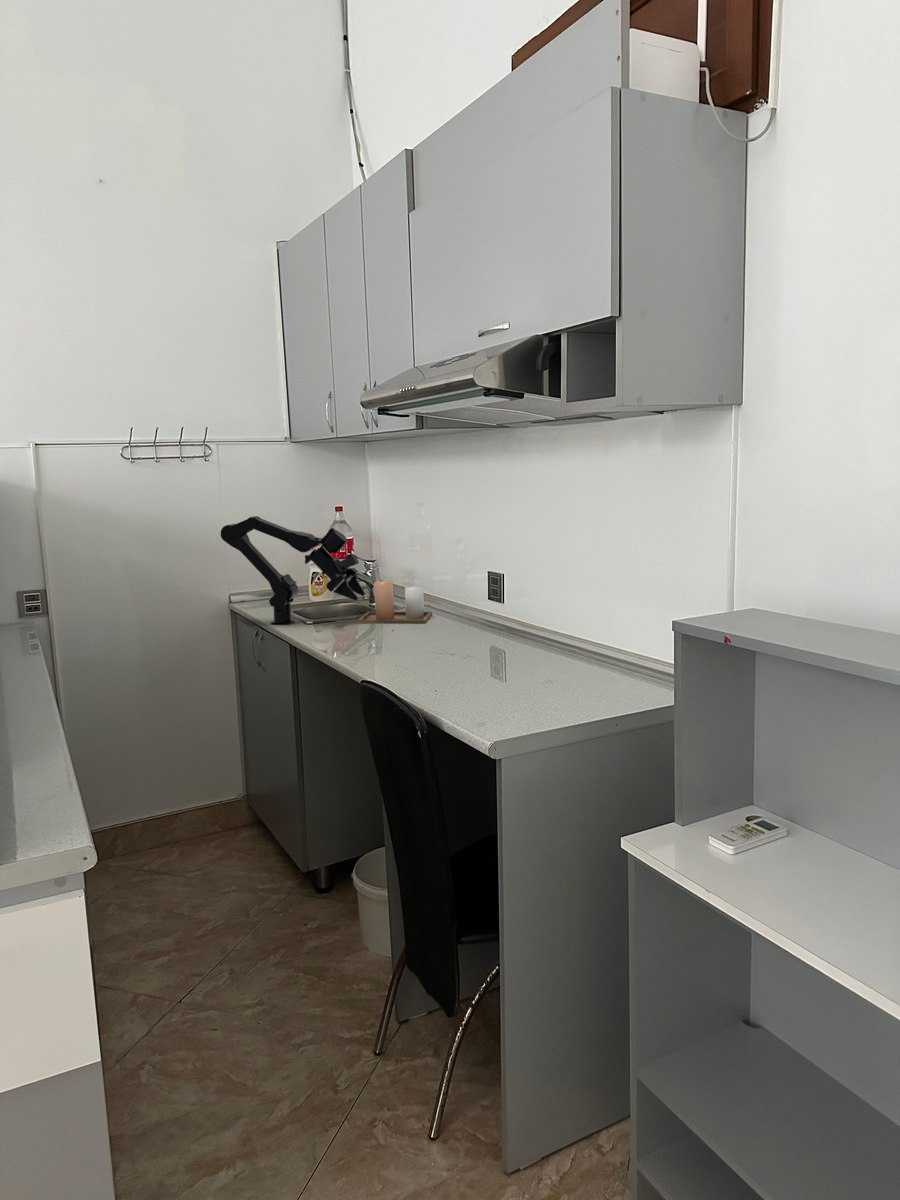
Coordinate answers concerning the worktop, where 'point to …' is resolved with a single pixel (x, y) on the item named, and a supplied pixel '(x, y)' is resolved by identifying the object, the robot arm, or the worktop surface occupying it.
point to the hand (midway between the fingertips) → (360, 597)
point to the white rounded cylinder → (414, 602)
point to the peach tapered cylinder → (384, 600)
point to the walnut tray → (398, 619)
